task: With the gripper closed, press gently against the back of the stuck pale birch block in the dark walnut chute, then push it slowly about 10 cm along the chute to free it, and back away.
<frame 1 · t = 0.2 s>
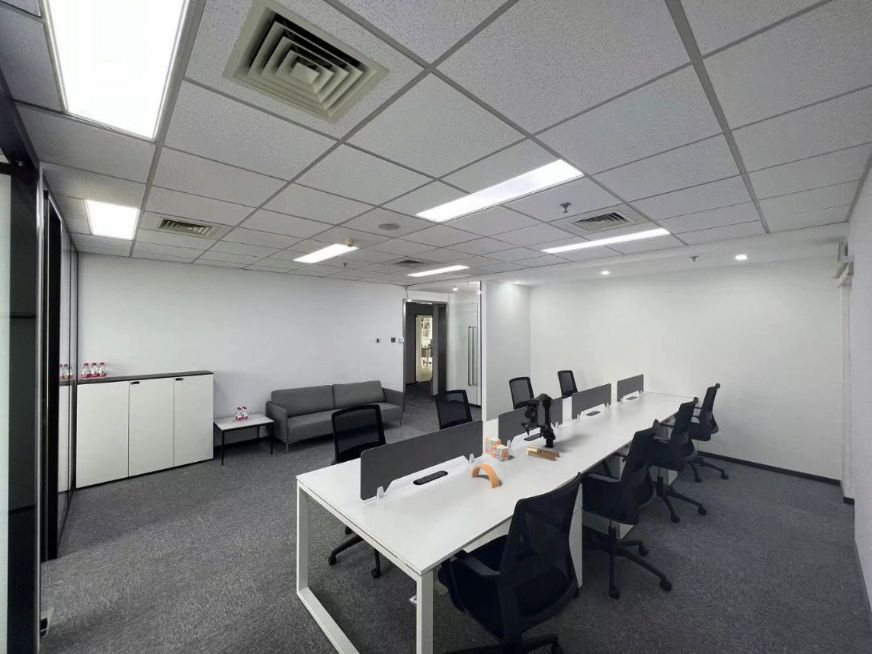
hand: (534, 436, 260), 14 cm above the table, tool pointing down, fingers open, 9 cm apart
walnut chute: (543, 456, 260), on the table
jammed block: (533, 450, 265), point 2 cm above the table, slide at 0.0 cm
stack of blocks: (496, 456, 260), on the table
arch: (484, 482, 216), on the table
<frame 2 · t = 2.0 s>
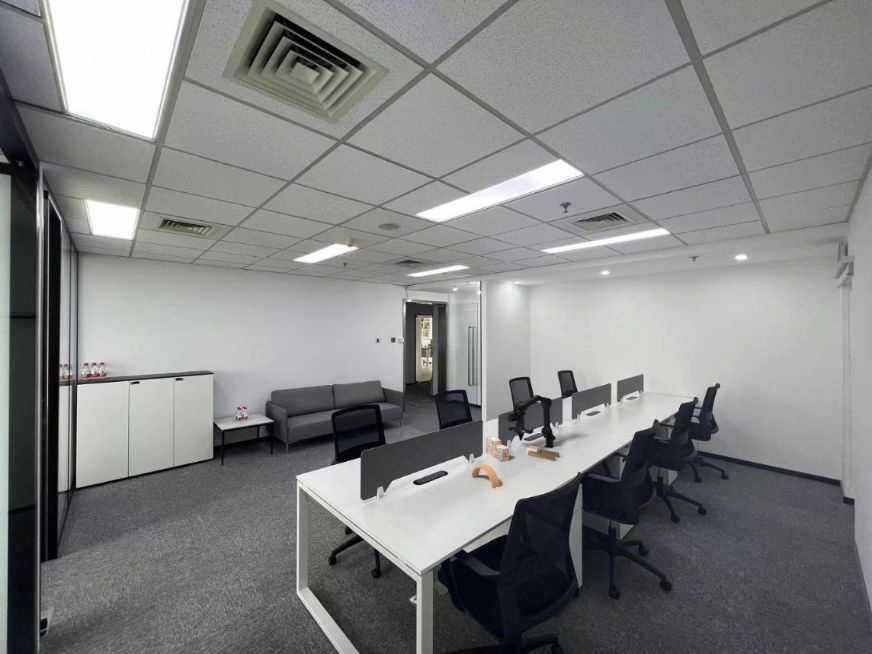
hand: (520, 440, 271), 8 cm above the table, tool pointing down, fingers closed
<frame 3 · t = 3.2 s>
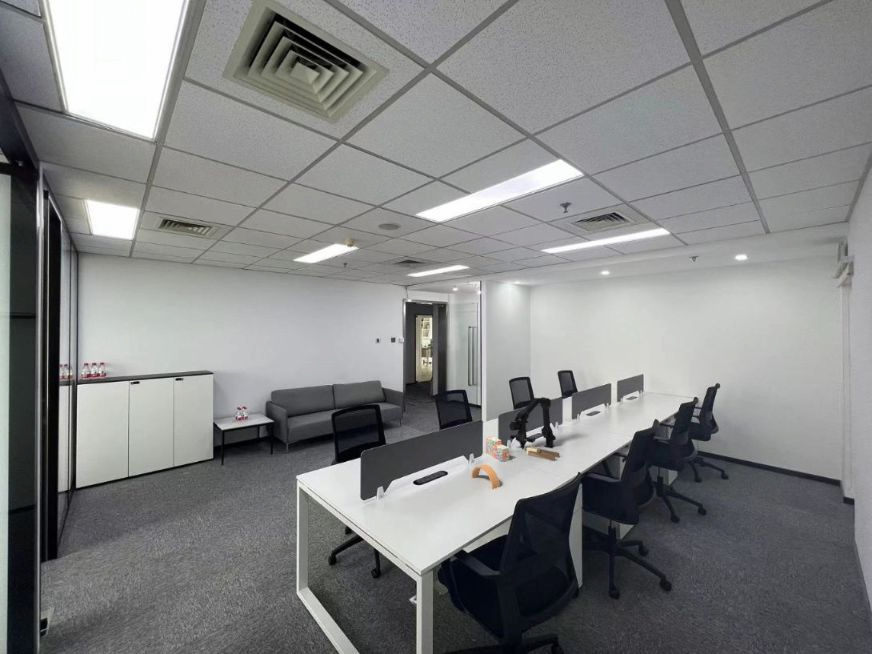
hand: (522, 449, 270), 2 cm above the table, tool pointing down, fingers closed
nothing on the table moved.
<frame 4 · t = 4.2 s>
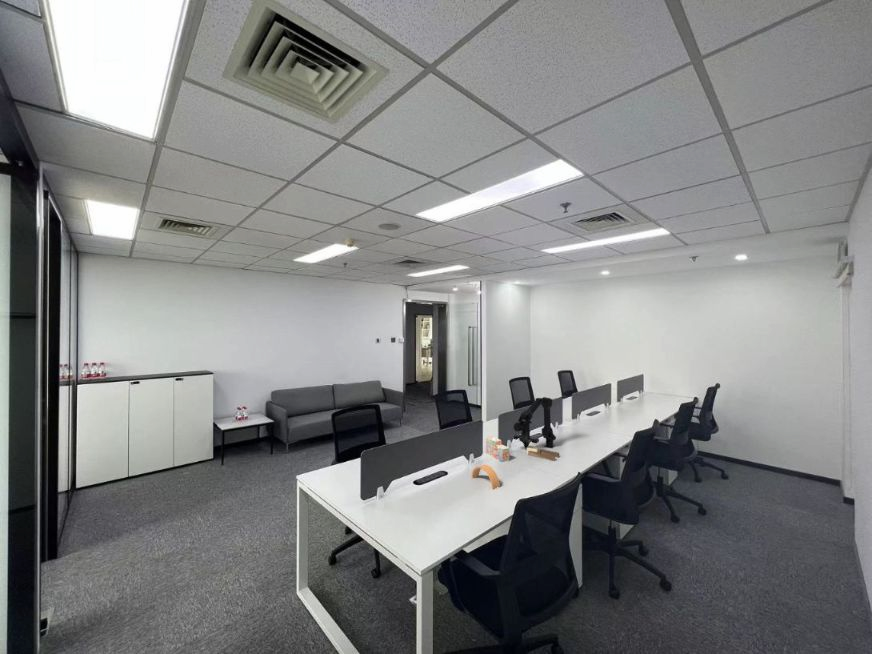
hand: (526, 449, 268), 2 cm above the table, tool pointing down, fingers closed
jammed block: (533, 450, 265), point 2 cm above the table, slide at 0.1 cm, touching gripper
everything else where it was.
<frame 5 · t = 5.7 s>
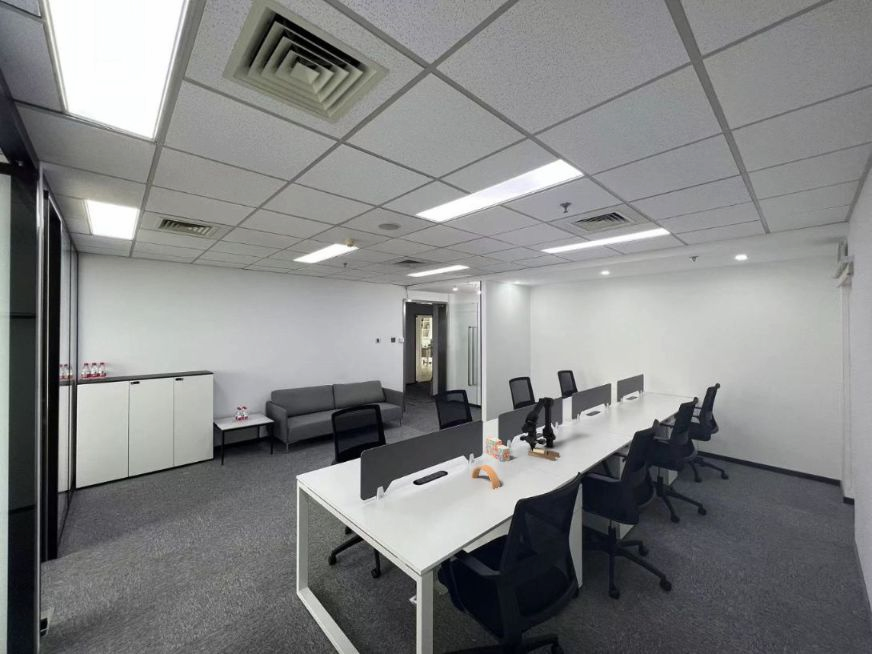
hand: (532, 451, 265), 2 cm above the table, tool pointing down, fingers closed
jammed block: (540, 452, 262), point 2 cm above the table, slide at 5.3 cm, touching gripper
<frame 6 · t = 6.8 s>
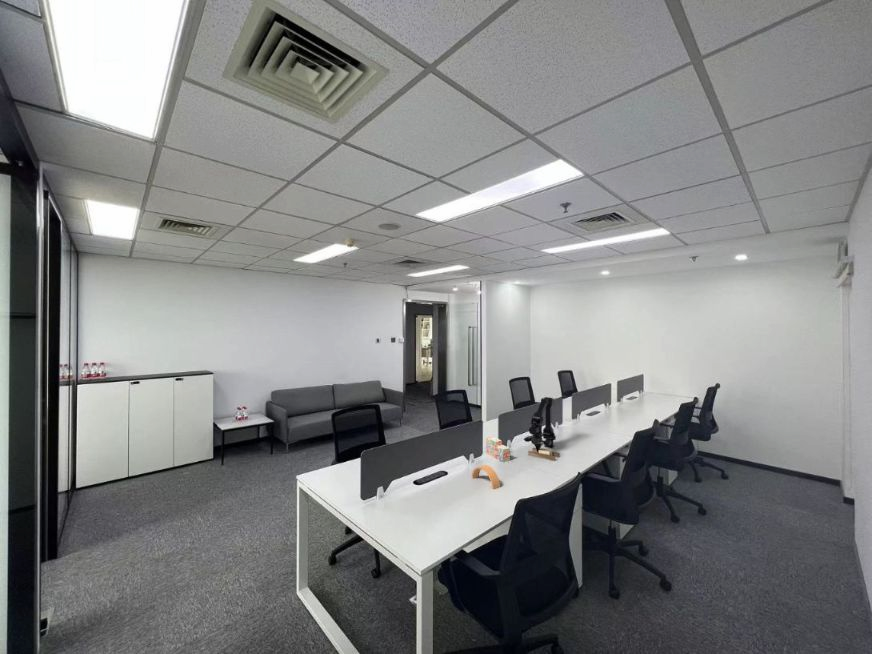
hand: (538, 452, 263), 2 cm above the table, tool pointing down, fingers closed
jammed block: (545, 453, 259), point 2 cm above the table, slide at 9.6 cm, touching gripper
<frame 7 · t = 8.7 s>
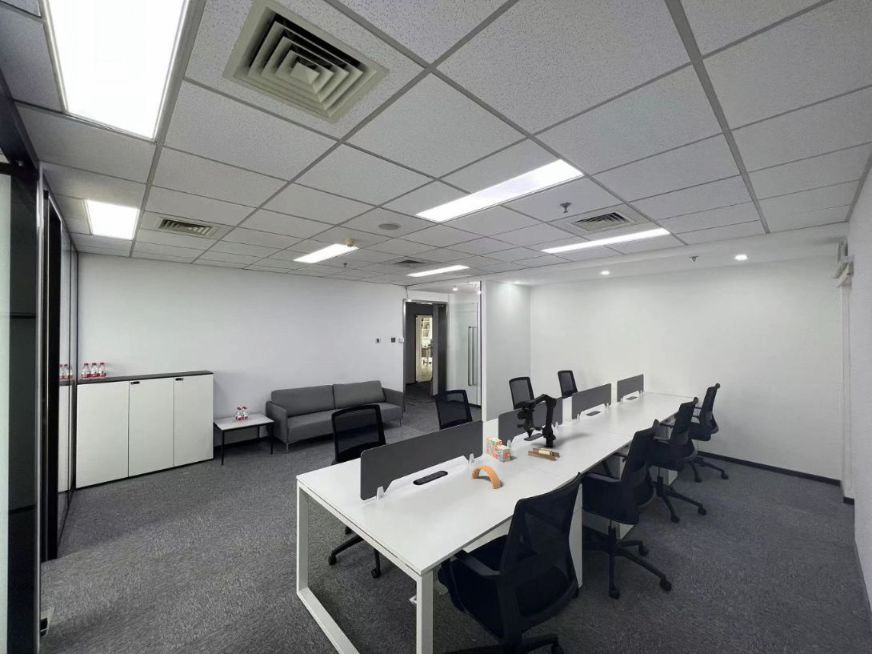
hand: (529, 437, 270), 11 cm above the table, tool pointing down, fingers closed
jammed block: (545, 453, 259), point 2 cm above the table, slide at 9.6 cm
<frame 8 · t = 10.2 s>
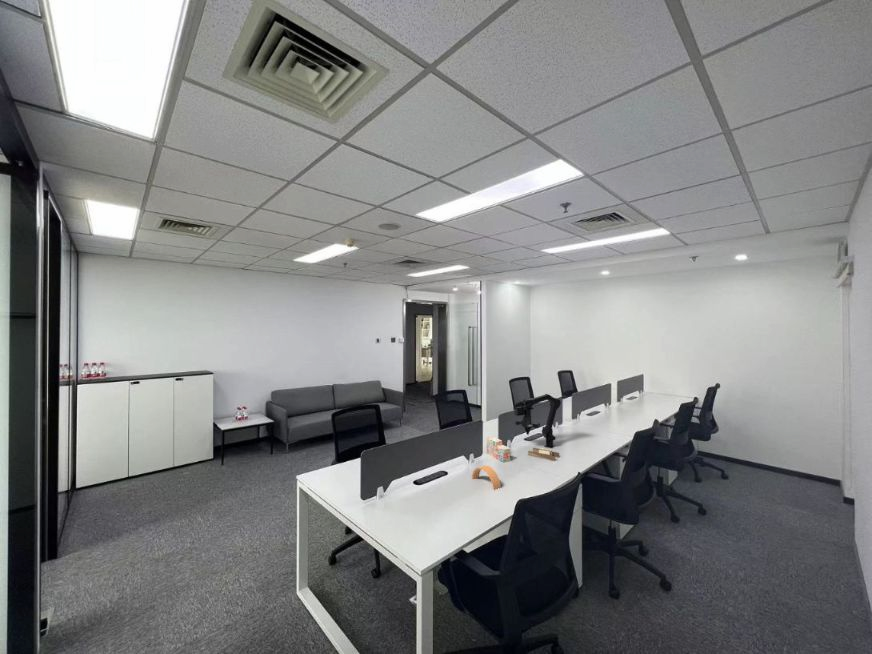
hand: (527, 434, 277), 11 cm above the table, tool pointing down, fingers closed
at the end: jammed block slide at 9.6 cm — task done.
